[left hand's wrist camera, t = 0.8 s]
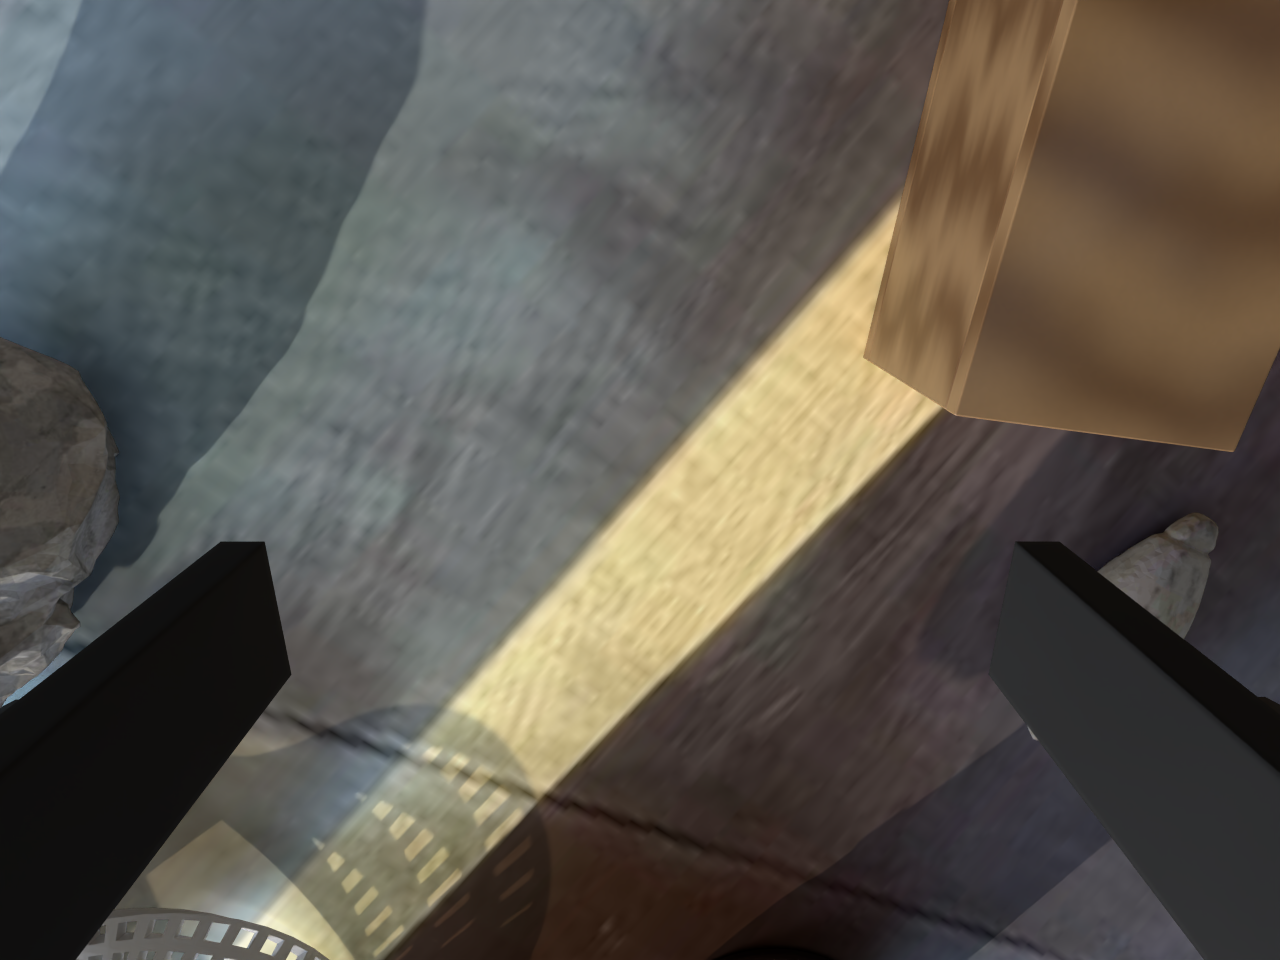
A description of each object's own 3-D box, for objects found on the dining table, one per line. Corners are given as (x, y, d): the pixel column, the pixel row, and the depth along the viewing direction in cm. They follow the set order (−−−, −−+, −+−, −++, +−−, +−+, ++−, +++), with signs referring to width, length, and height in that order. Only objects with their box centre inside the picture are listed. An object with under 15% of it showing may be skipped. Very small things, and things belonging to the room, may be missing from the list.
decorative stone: (1229, 525, 40) (1281, 552, 36) (1065, 735, 44) (1098, 775, 41) (1138, 483, 39) (1183, 507, 36) (981, 702, 44) (1008, 740, 40)
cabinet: (956, -32, 31) (1124, -164, 20) (1193, 6, 31) (1479, -103, 21) (862, 358, 37) (954, 415, 26) (1063, 385, 37) (1235, 452, 26)
